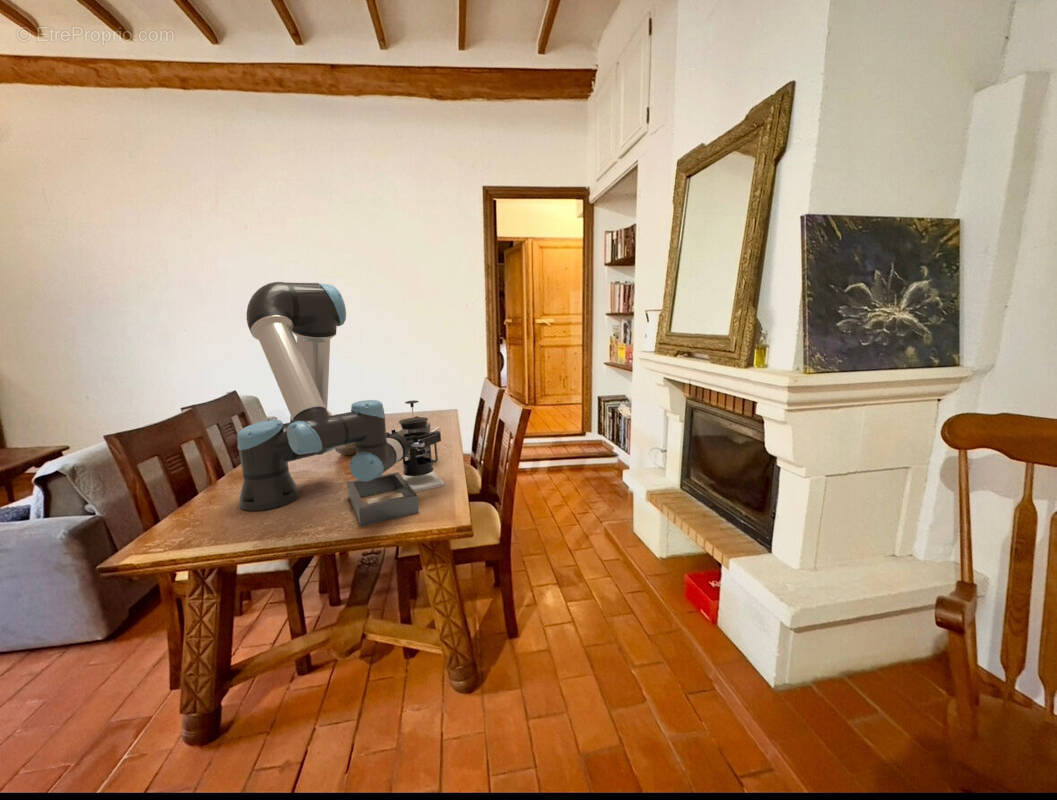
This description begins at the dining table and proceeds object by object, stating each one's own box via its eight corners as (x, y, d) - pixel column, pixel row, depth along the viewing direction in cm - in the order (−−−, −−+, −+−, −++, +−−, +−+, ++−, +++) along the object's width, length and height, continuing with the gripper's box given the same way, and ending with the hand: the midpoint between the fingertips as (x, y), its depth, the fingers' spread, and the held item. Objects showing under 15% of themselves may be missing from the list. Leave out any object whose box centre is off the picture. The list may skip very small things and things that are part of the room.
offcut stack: (368, 522, 115) (366, 505, 114) (365, 516, 119) (363, 499, 118) (410, 512, 120) (408, 496, 119) (406, 506, 124) (404, 490, 123)
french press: (397, 477, 137) (389, 404, 133) (406, 467, 146) (399, 399, 142) (434, 475, 136) (428, 402, 133) (441, 465, 146) (435, 397, 142)
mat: (409, 493, 133) (409, 490, 133) (398, 479, 145) (398, 476, 145) (444, 485, 139) (444, 482, 139) (431, 472, 151) (431, 470, 151)
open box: (360, 526, 113) (358, 508, 112) (348, 497, 132) (347, 481, 131) (418, 512, 120) (417, 495, 119) (399, 487, 139) (398, 472, 138)
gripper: (354, 462, 124) (390, 441, 146) (431, 464, 120) (457, 442, 142) (351, 437, 123) (388, 419, 144) (429, 437, 119) (456, 419, 140)
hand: (423, 430), depth 143 cm, fingers closed on french press, 11 cm apart
